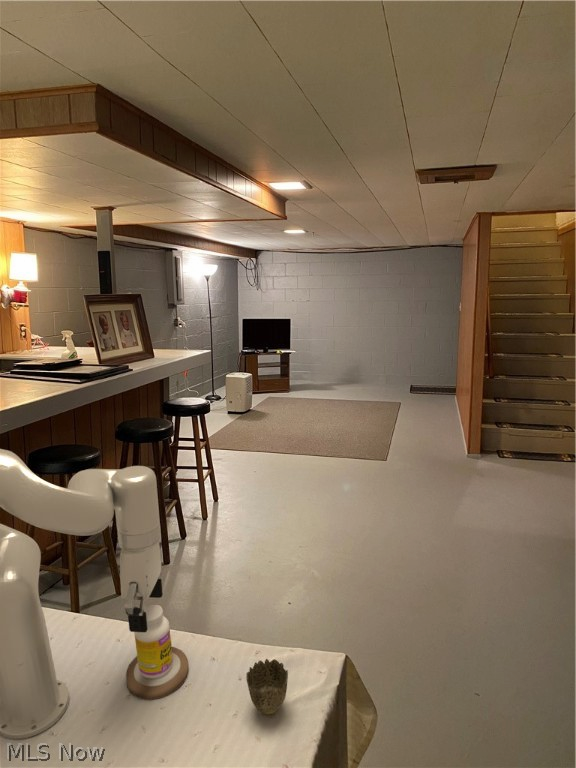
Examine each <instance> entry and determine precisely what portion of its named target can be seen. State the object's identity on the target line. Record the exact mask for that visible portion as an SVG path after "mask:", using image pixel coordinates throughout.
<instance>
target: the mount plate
mask: <svg viewBox="0 0 576 768" xmlns="http://www.w3.org/2000/svg"><path fill="white" fill-rule="evenodd" d="M172 657H173V664H172V667H171V669H170V670H169V671H168V672H167V673H166V674H165V675H163V676H161V677H158V678H146V677H144V676H143V675H142V674H141V673H140V671H139V667H138V659H137V655H136V656H135V657H134V658H133V659H132V660H131V661H130V663H129V664H128V666H127V669H126V672H125V679H126V684H127V688H128V690H129V691H130V693H131V694H132V695H134V697H137V698H139V699H144V700H156V699H158V700H159V699H162V698H165V697H167V696H170V695H171V694H173V693H175V692H176V691H178V690H179V689H180V688H182V686H183V685H184V683H185V682H186V680H187V679H188V676H189V671H190V669H189V660H188V656H187V655H186V654H185V652H184V651H183V650H182V649H179V648H177V647H175V646H172Z"/></svg>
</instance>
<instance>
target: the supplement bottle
mask: <svg viewBox="0 0 576 768" xmlns="http://www.w3.org/2000/svg"><path fill="white" fill-rule="evenodd" d="M144 612H146V618H147V628H148V629H147V632H133V633H134V640H135V649H136V656H137V659H138V667H139V671H140V673H141V674H142V675H143V676H144V677H146V678H158V677H161V676H163V675H165V674H166V673H167V672H168V671H169V670H170V669H171V667H172V664H173V657H172V647H173V646H172V639H171V638H172V637H171V627H170V622H169V620H168V619H167V618H166V617H165V616H164V610H163V608H162V606H160V605H158V604H153V603H152V604H147V605H145V607H144Z"/></svg>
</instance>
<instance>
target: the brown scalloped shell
mask: <svg viewBox="0 0 576 768" xmlns="http://www.w3.org/2000/svg"><path fill="white" fill-rule="evenodd" d="M248 670H249V671H247V672H246V677H245V678H246V679H245V680H246V683H247V687H248V692H249V696H250V699H251V702H252V704H253V705H254V706H255V708H256V709H258V710H259V712H260V713H261V714H262V715H263V716H265V717H272V716H274V715H276V714H277V712H278V711H279V708H281V706H282V704H284V701H285V699H286V696H287V690H288V679H289V674H288V673H289V672H288V671H289V670H288V669H285V666H284V664H283V663H282V662H279V661H278V660H277V659H276V658H275V659H274V658H273V659H272V660H271V661H270V660H269V659H268V658H265V660H264V662H263V661H262V660H258V661H257V662H254V665H253V666H252V667H251V666H250V667H249V669H248Z"/></svg>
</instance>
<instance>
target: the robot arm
mask: <svg viewBox="0 0 576 768" xmlns="http://www.w3.org/2000/svg"><path fill="white" fill-rule="evenodd" d="M157 483H158V482H157V476H156V474H155V472H154V470H153V469H152V468H150V467H147V466H145V465H133V466H132V465H131V466H126V467H124V468H120V469H112V468H111V469H109V468H108V469H106V468H88V469H85V470H80V471H78V472H77V473H75V474H74V475H73V476H72V477H71V479H70V480H69V481H68V485H67V487H62V486H58V485H56V484H53V483H50V482H49V481H46V480H44V479H42V478H41V477H39V476H38V475H36V474H35V473H34V472H33V471H32V470H31V469H30V468H29V467H28V466H27V465H26V463H25V462H24V461H23V460H22V459H21V458H20V457H19V455H17V454H16V453H14V452H13V451H11V450H7V449H2V448H0V508H1V509H3V510H4V511H6V512H7V513H9V514H10V515H12V516H14V517H16V518H18V519H20V520H21V521H23V522H25V523H27V524H30V525H31V526H34V527H37V528H40V529H43V530H47V531H51V532H54V533H55V532H56V533H61V534H66V535H71V536H73V535H74V536H83V537H84V536H92V535H93V536H94V535H97V534H99V533H101V532H103V531H104V530H105V529H107V528H108V527H109V525H110V524H111V523H112V520H113V518H114V515H115V522H116V531H117V542H118V546H119V548H120V555H119V556H120V558H119V579H120V580H119V581H120V593H121V594H120V595H121V599H122V600H123V601H125V602H124V610H125V614H126V616H127V617H128V618H127V621H128V628H129V629H128V630H129V632H130V633H134V632H147V629H148V628H147V618H146V612H144V607H145V606H146V601H147V600H148V599H149V598H158V599H159V598H162V597H163V584H162V580H163V579H162V556H161V555H162V554H161V547H160V542H161V541H162V533H161V532H162V531H161V523H160V521H161V520H160V519H161V518H160V510H159V509H160V508H159V498H158V488H157V487H158V485H157ZM41 557H42V555H41V549H40V547H39V545H38V543H37V542H36V541H35V540H34V538H32V537H30V536H29V535H27V534H26V533H23V532H21V531H19V530H17V529H14V528H12V527H9V526H8V525H5V524H2V523H0V735H1V736H3V737H5V738H8V739H16V740H17V739H26V738H30V737H33V736H36V735H38V734H40V733H43V732H44V731H46V730H48V729H49V728H51V727H52V726H53V725H54V724H55V723H57V722H58V721H59V720H60V719H61V718H62V716H63V715H64V714H65V712H66V709H68V706H69V703H70V692H69V689H68V687H67V685H66V683H64V682H63V681H61V680H60V679H57V673H56V668H55V664H54V659H53V653H52V647H51V644H50V638H49V633H48V627H47V623H46V618H45V614H44V610H43V606H42V604H41V600H40V595H39V594H40V593H39V579H40V578H39V577H40V569H41V562H42V561H41ZM137 594H139V595H140V596H138V595H137ZM135 601H140V603H139V607H138V606H136V605H135Z"/></svg>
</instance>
